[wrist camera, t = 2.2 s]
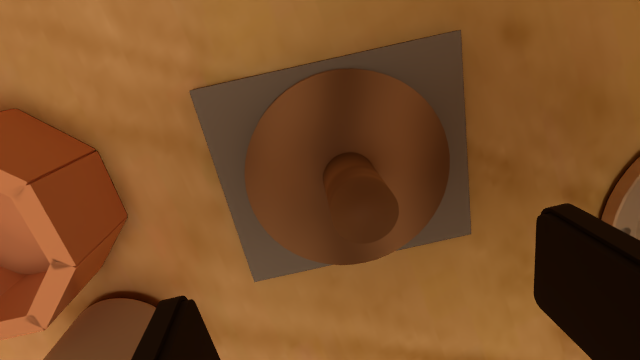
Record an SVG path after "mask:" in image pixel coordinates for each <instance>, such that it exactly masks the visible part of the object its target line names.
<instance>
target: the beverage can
mask: <svg viewBox="0 0 640 360" xmlns="http://www.w3.org/2000/svg"><path fill="white" fill-rule="evenodd" d="M155 309H156V307H154V306H152V305H150V304H148V303H145V302H142V301H139V300H134V299H127V298H114V299H107V300H103V301H100V302H97V303H95V304H93V305H91V306H90V307H88V308H87V309H85V310H84V311H83V312H82V313H81V314H80V315H79V316H78V318H77V319H76V320H75V321H74V322H73V324H72V325H71V326H70V327H69V329H68V330H67V331H66V332H65V333H64V335H63V336H62V337H61V338H60V340H59V341H58V342H57V343H56V345H55V346H54V347H53V348H52V349H51V351H50V352H49V353H48V354H47V356H46V357H45V358H44V359H43V360H131V358H132V356H133V354H134V352H135V350H136V348H137V346H138V344H139V342H140V340H141V338H142V336H143V334H144V332H145V330H146V328H147V326H148V324H149V322H150V320H151V318H152V316H153V314H154V312H155Z"/></svg>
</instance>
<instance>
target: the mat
mask: <svg viewBox="0 0 640 360" xmlns="http://www.w3.org/2000/svg"><path fill="white" fill-rule="evenodd" d="M351 68H355V69H363V70H370V71H374V72H378V73H382V74H385V75H388V76H391V77H393V78H395V79H398V80H400V81H402V82H403V83H405V84H406V85H408V86H410V87H411V88H413V89H414V90H415V91H416V92H418V93H419V94H420V95H421V96H422V97H423V98H424V99H425V100H426V101H427V102H428V103H429V105H430V106H431V107H432V108H433V110H434V111H435V113H436V115H437V116H438V118H439V120H440V122H441V124H442V126H443V128H444V131H445V134H446V138H447V141H448V147H449V154H450V170H449V177H448V182H447V186H446V190H445V193H444V196H443V198H442V201H441V203H440V205H439V207H438V209H437V210H436V212H435V214H434V215H433V217H432V218H431V220H430V221H429V222H428V224H427V225H426V226H425V227H424V228H423V229H422V230H421V232H420V233H419V234H418V235H416V236H415V237H414V238H413V239H412V240H411V241H409V242H408V243H407V244H405V245H404V246H402V247H401V248H399V249H398V250H402V249H406V248H411V247H415V246H420V245H424V244H429V243H433V242H438V241H442V240H447V239H451V238H456V237H460V236H465V235H469V234H471V219H470V199H469V180H468V160H467V141H466V121H465V102H464V82H463V62H462V43H461V30H457V31H452V32H448V33H443V34H439V35H434V36H430V37H426V38H421V39H417V40H412V41H408V42H403V43H399V44H394V45H390V46H385V47H381V48H377V49H372V50H368V51H363V52H359V53H354V54H350V55H345V56H341V57H336V58H332V59H327V60H323V61H319V62H314V63H310V64H305V65H301V66H296V67H292V68H287V69H283V70H278V71H274V72H270V73H265V74H261V75H256V76H252V77H247V78H243V79H238V80H234V81H229V82H225V83H221V84H216V85H212V86H207V87H203V88H198V89H194V90H190V91H189V92H190V95H191V98H192V101H193V104H194V107H195V110H196V112H197V115H198V118H199V121H200V124H201V127H202V130H203V133H204V136H205V139H206V142H207V145H208V148H209V151H210V153H211V156H212V159H213V162H214V165H215V168H216V171H217V174H218V177H219V180H220V183H221V186H222V189H223V191H224V194H225V197H226V200H227V203H228V206H229V209H230V212H231V215H232V218H233V221H234V224H235V227H236V230H237V232H238V235H239V238H240V241H241V244H242V247H243V250H244V253H245V256H246V259H247V262H248V265H249V268H250V270H251V273H252V276H253V279H254V282H257V281H261V280H266V279H270V278H275V277H279V276H284V275H289V274H293V273H298V272H302V271H307V270H311V269H316V268H320V267H325V266H329V265H333V264H325V263H319V262H315V261H312V260H308V259H305V258H303V257H301V256H298V255H296V254H294V253H292V252H291V251H289V250H287V249H286V248H284V247H283V246H282V245H280V244H279V243H278V242H276V241H275V240H274V239H273V238H272V237H271V236H270V235H269V234H268V233H267V232H266V231H265V229H264V228H263V227H262V225H261V224H260V223H259V221H258V219H257V217H256V216H255V214H254V212H253V210H252V207H251V205H250V202H249V199H248V195H247V191H246V186H245V175H244V174H245V159H246V154H247V149H248V146H249V143H250V140H251V137H252V134H253V132H254V130H255V128H256V126H257V124H258V122H259V120H260V119H261V117H262V116H263V114H264V113H265V111H266V110H267V108H268V107H269V106H270V105H271V104H272V103H273V101H274V100H275V99H276V98H277V97H278V96H279V95H281V94H282V93H283V92H284V91H285V90H287V89H288V88H289V87H291V86H292V85H294V84H296V83H297V82H299V81H301V80H303V79H305V78H307V77H309V76H312V75H314V74H318V73H321V72H324V71H328V70H335V69H351ZM396 251H397V250H396Z"/></svg>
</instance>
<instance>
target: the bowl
mask: <svg viewBox="0 0 640 360" xmlns="http://www.w3.org/2000/svg"><path fill="white" fill-rule="evenodd" d="M94 151H95V149H94V148H92V147H90V146H88V145H86V144H84V143H82V142H80V141H78V140H77V139H75V138H73V137H71V136H69V135H67V134H65V133H63V132H61V131H59V130H57V129H55V128H53V127H51V126H49V125H47V124H45V123H43V122H41V121H39V120H38V119H36V118H34V117H32V116H30V115H28V114H26V113H24V112H22V111H20V110H18V109H10V110H5V111H0V340H3V339H8V338H12V337H17V336H22V335H26V334H31V333H35V332H40V331H44V330H45V329H47V327H48V326H49V325H50V324H51V323H52V322H53V321H54V320H55V319H56V317H57V316H58V315H59V314H60V313H61V312H62V311H63V310H64V309H65V307H66V306H67V305H68V304H69V303H70V302H71V301H72V300H73V299H74V297H75V296H76V295H77V294H78V293H79V292H80V291H81V290H82V289H83V287H84V286H85V285H86V284H87V283H88V282H89V281H90V280H91V279H92V277H93V276H94V275H95V274H96V273H97V272H98V271H99V270H100V268H101V267H102V266H103V264H104V262H105V260H106V258H107V256H108V254H109V252H110V250H111V248H112V246H113V244H114V242H115V240H116V239H117V237H118V235H119V233H120V231H121V229H122V227H123V225H124V223H125V221H126V219H127V217H126V216H127V213H126V211H125V209H124V207H123V205H122V203H121V200H120V198H119V196H118V194H117V192H116V190H115V188H114V186H113V183H112V181H111V179H110V177H109V175H108V173H107V171H106V168H105V166H104V164H103V162H102V160H101V158H100V156H99V154H98V151H95V152H94Z"/></svg>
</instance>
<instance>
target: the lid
mask: <svg viewBox="0 0 640 360" xmlns="http://www.w3.org/2000/svg"><path fill="white" fill-rule="evenodd" d="M449 170H450V154H449V147H448V141H447V138H446V134H445V131H444V128H443V126H442V124H441V122H440V120H439V118H438V116H437V115H436V113H435V111H434V110H433V108H432V107H431V106H430V105H429V103H428V102H427V101H426V100H425V99H424V98H423V97H422V96H421V95H420V94H419V93H418V92H416V91H415V90H414V89H413V88H411V87H410V86H408V85H406V84H405V83H403V82H402V81H400V80H398V79H395V78H393V77H391V76H388V75H385V74H382V73H378V72H374V71H370V70H363V69H355V68H351V69H335V70H328V71H324V72H321V73H318V74H314V75H312V76H309V77H307V78H305V79H303V80H301V81H299V82H297V83H296V84H294V85H292V86H291V87H289V88H288V89H287V90H285V91H284V92H283V93H282V94H281V95H279V96H278V97H277V98H276V99H275V100H274V101H273V103H272V104H271V105H270V106H269V107H268V108H267V110H266V111H265V113H264V114H263V116H262V117H261V119H260V120H259V122H258V124H257V126H256V128H255V130H254V132H253V134H252V137H251V140H250V143H249V146H248V149H247V154H246V159H245V174H244V175H245V186H246V191H247V195H248V199H249V202H250V205H251V207H252V210H253V212H254V214H255V216H256V217H257V219H258V221H259V223H260V224H261V225H262V227H263V228H264V229H265V231H266V232H267V233H268V234H269V235H270V236H271V237H272V238H273V239H274V240H275V241H276V242H278V243H279V244H280V245H282V246H283V247H284V248H286V249H287V250H289V251H291V252H292V253H294V254H296V255H298V256H301V257H303V258H305V259H308V260H312V261H315V262H319V263H325V264H333V265H350V264H358V263H364V262H368V261H372V260H375V259H378V258H381V257H383V256H386V255H388V254H390V253H392V252H394V251H396V250H398V249H399V248H401V247H402V246H404V245H405V244H407V243H408V242H409V241H411V240H412V239H413V238H414V237H415V236H416V235H418V234H419V233H420V232H421V230H422V229H423V228H424V227H425V226H426V225H427V224H428V222H429V221H430V220H431V218H432V217H433V215H434V214H435V212H436V210H437V209H438V207H439V205H440V203H441V201H442V198H443V196H444V193H445V190H446V186H447V182H448V177H449Z"/></svg>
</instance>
